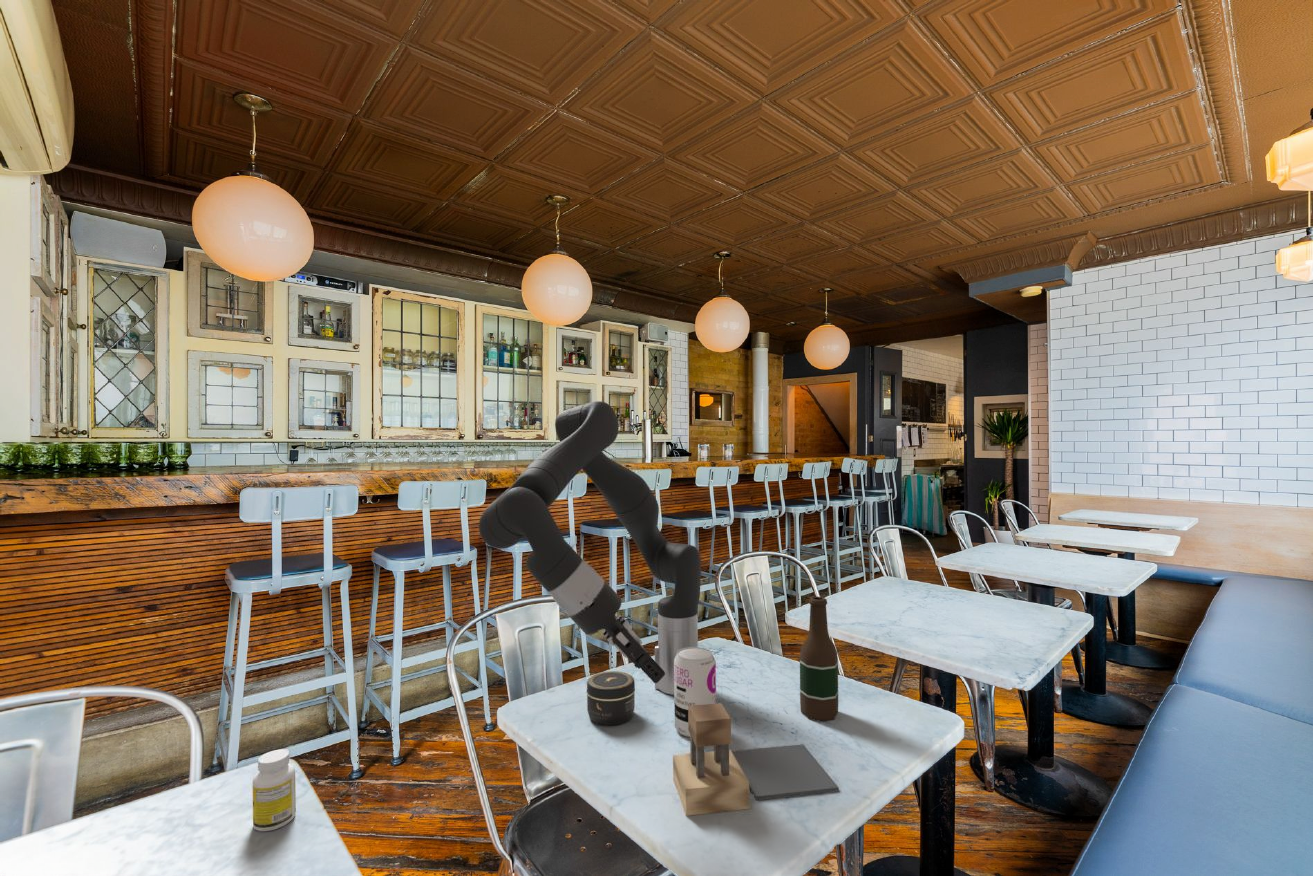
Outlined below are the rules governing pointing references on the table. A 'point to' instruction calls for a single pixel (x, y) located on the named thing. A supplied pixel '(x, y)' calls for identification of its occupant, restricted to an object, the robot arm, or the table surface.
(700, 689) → the supplement can
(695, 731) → the stool
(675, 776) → the step
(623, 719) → the jar
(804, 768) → the mat
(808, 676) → the beer bottle
